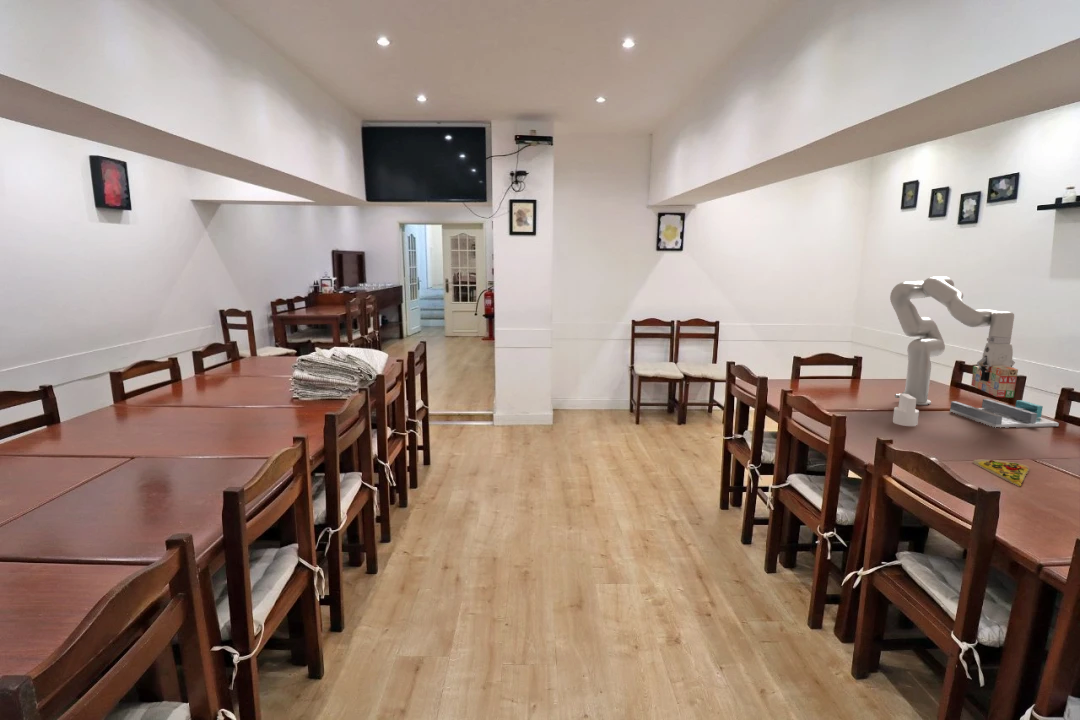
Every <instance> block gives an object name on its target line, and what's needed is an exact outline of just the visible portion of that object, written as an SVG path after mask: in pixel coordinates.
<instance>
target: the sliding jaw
mask: <svg viewBox="0 0 1080 720" xmlns="http://www.w3.org/2000/svg"><path fill="white" fill-rule="evenodd" d="M981 408H985V409H988V410H991V411H994V412H997V413H1001V414H1004V415H1007V416H1010V417H1013V418H1016V419H1019V420H1023V421H1026V422H1029V423H1036V418H1038V417H1041V418H1042V414H1043V413H1042V412H1043V405H1040V404H1036V403H1033V402H1030V401H1029V402H1028V401H1025V400H1022V399H1020V400H1019V399H1018V400H1017V399H1016V401H1015V406H1013V405H1009V404H1006V403H1003V402H999V401H996V400H992V399H990V398H984V399H983V398H982V405H981Z"/></svg>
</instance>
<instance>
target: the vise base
mask: <svg viewBox="0 0 1080 720" xmlns="http://www.w3.org/2000/svg"><path fill="white" fill-rule="evenodd" d="M951 412H953V413H952V414H954V413H955V414H954V415H957V414H958V415H957V416H960V415H961V416H960V417H962V416H964V417H963V418H965V417H966V419H968V418H969V420H971V419H972V421H974V420H975V421H974V422H978V423H979V422H981V423H980V424H982V423H984V424H983V425H985V424H986V426H988V425H989V426H988V427H991V426H992V427H991V428H994V427H995V428H994V429H997V428H996V427H1000V428H999V429H1002V428H1001V427H1005V428H1004V429H1010V428H1009V427H1016V428H1041V427H1043V428H1044V427H1047V428H1048V427H1059V424H1060V423H1059V422H1057V421H1054V420H1050V419H1048V418H1044V417H1042V416H1041V417H1038V418H1036V423H1029V422H1026V421H1023V420H1019V419H1016V418H1013V417H1010V416H1007V415H1004V414H1001V413H997V412H994V411H991V410H988V409H985V408H982V407H974V406H972V405H968V404H966V403H963V402H959V401H956V400H955V401H951V402H950V409H949V413H951Z"/></svg>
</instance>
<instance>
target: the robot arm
mask: <svg viewBox="0 0 1080 720" xmlns="http://www.w3.org/2000/svg"><path fill="white" fill-rule="evenodd" d="M963 297H964V293H963V292H962V291H961V290H959V289H957V288H956V287H955V282H954V280H952V278H951V277H948V276H931V277H928V278H926V279H925V280H916V281H913V280H912V281H910V280H909V281H903V282H899V283H897V284H896V285H895V286H893V288H892V289H891V292H890V295H889V299H890V304H891V306H892V308H893V310H894V312H895V314H896V316H897V320H898V322H899V324H900V327H901V329H902V332H903V334H904V335H906V336H907V337H909V338H916V339H914V340H912V341H910V342H909V344H908V346H907V371H906V378H905V388H904V391H902V393H896V394H895V395H894V398H895V399H900V394H909V395H910V396H912V397H914V398H916V406H929V405H931V404H932V401H931V400H930V399H928V398H929V397H928V396H929V391H930V381H931V374H932V373H931V372H932V362H931V358H935V357H939V356H940V355H942V354H943V353H944V352H945V349H946V345H945V341H944V339H943V336H942V334H941V333H940V330H939V328H938V325H937V323H936V322H935V321H934V320H933V319H932V318H930V317H927V316H920V314H919V312H918V308H917V307H916V306H915V304H914V303H913V302H911V299H912V300H914V299H925V298H932V299H934V300H936V301H937V303H939V304H941V305H943V306H944V307H946V308H947V311H948V312H949V314H950V315H951V316H952V317H953V318H954V320H957V321H958V322H960V323H961V324H963V325H965V326H967V327H970V328H983V327H989V330H988V337H986V341H987V342H986V343H985V347H984V348H983V349H984V350H983V351H982V352H983V353H982V357H981V359H980V360H979V361H977V362H976V366H979V368H980V370H981V371H982V375H981V380H982V381H986V382H987V381H988V380H989V372H988V371H989V370H990V368H991V367H993V366H997V365H1007V366H1011V367H1013V366H1014V365H1015V364H1016V361H1014V360H1013V353H1014V351H1013V349H1014V348H1013V343H1011V340H1012V334H1013V328H1014V320H1015V313H1014V312H1012V311H1005V310H994V309H987V308H986V309H974V308H972V307H971V306H969V305H967V304H966V303H965V302H964V301H963ZM987 364H988V365H987ZM986 367H987V368H986ZM928 404H929V405H928Z"/></svg>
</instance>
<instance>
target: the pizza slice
mask: <svg viewBox="0 0 1080 720" xmlns="http://www.w3.org/2000/svg"><path fill="white" fill-rule="evenodd" d="M973 463H974V464H973ZM972 464H973V465H975V464H976V466H977V465H978V467H979V466H980V468H981V467H982V468H981V469H984V470H986V471H988V473H991V474H993V475H995V476H997V477H999V478H1001V479H1003V480H1005V481H1007V482H1009V483H1011V484H1012V483H1013V484H1012V485H1014V484H1015V485H1014V486H1016V485H1017V486H1016V487H1021V486H1022V484H1023V482H1024V480H1025V478H1026V477H1027V475H1028V473H1029V472H1030V470H1031V469H1030V467H1029V465H1026V464H1022V463H1018V462H1012V461H1007V460H1006V461H1004V460H999V459H981V458H980V459H973V461H972ZM1029 469H1030V470H1029ZM1028 471H1029V472H1028ZM1026 474H1027V475H1026ZM1025 476H1026V477H1025ZM1021 483H1022V484H1021Z"/></svg>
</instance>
